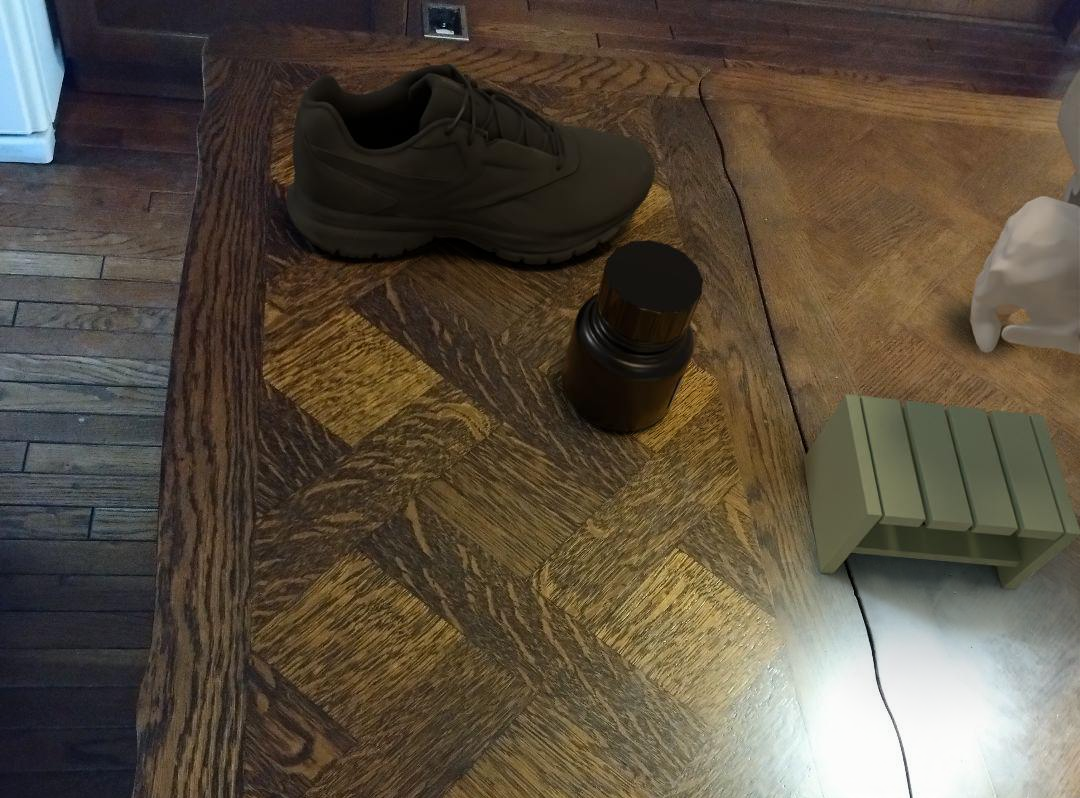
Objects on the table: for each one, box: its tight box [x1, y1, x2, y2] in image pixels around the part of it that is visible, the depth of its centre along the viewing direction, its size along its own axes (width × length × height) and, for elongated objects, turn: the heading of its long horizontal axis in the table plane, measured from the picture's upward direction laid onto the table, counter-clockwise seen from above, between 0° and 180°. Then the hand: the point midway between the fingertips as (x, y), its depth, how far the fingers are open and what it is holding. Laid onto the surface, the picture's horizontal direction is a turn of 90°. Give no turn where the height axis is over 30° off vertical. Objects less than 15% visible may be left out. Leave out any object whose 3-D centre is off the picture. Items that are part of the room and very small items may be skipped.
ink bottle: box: [561, 239, 704, 432], centre depth 72 cm, size 10×9×12 cm
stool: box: [802, 393, 1080, 590], centre depth 71 cm, size 15×10×8 cm, turn 89°
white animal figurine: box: [970, 195, 1080, 355], centre depth 57 cm, size 6×8×12 cm
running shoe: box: [285, 62, 656, 266], centre depth 78 cm, size 11×30×14 cm, turn 104°
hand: (1073, 298), depth 58 cm, fingers closed on white animal figurine, 6 cm apart
